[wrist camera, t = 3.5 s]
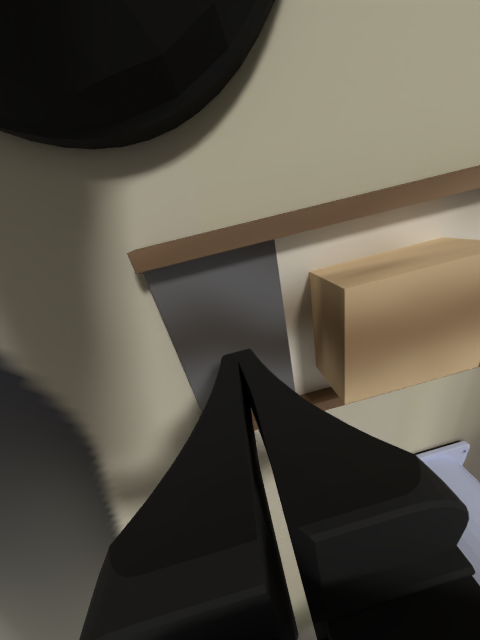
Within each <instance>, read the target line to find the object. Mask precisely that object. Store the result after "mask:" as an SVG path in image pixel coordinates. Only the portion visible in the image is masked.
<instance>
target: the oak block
mask: <svg viewBox="0 0 480 640" xmlns="http://www.w3.org/2000/svg"><path fill="white" fill-rule="evenodd" d="M309 275H310V288H311V302H312V315H313V329H314V342H315V356H316V367H317V368H318V370H319V371H320V372H321V374H322V375H323V376H324V378H325V379H326V380H327V382H328V383H329V384H330V386H331V387H332V388H333V390H334V391H335V392H336V394H337V395H338V396H339V398H340V399H341V400H342V402H343V403H344V404H348V403H352V402H356V401H359V400H363V399H366V398H370V397H373V396H377V395H380V394H384V393H387V392H391V391H395V390H398V389H402V388H405V387H409V386H412V385H416V384H419V383H423V382H426V381H430V380H433V379H437V378H441V377H444V376H448V375H451V374H455V373H458V372H462V371H465V370H469V369H472V368H476V367H478V366H479V363H480V240H473V239H459V238H445V237H442V238H438V239H434V240H430V241H426V242H422V243H418V244H414V245H411V246H407V247H403V248H399V249H395V250H391V251H387V252H383V253H379V254H375V255H372V256H368V257H364V258H360V259H356V260H352V261H348V262H344V263H340V264H337V265H333V266H329V267H325V268H321V269H317V270H313V271H309Z"/></svg>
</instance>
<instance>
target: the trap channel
mask: <svg viewBox="0 0 480 640" xmlns="http://www.w3.org/2000/svg"><path fill="white" fill-rule="evenodd" d="M442 237H445V238H459V239H473V240H480V165H479V166H475V167H471V168H467V169H463V170H459V171H455V172H451V173H446V174H442V175H438V176H434V177H430V178H426V179H422V180H418V181H414V182H410V183H406V184H402V185H398V186H393V187H389V188H385V189H381V190H377V191H373V192H369V193H365V194H361V195H357V196H353V197H349V198H345V199H340V200H336V201H332V202H328V203H324V204H320V205H316V206H312V207H308V208H304V209H300V210H296V211H292V212H287V213H283V214H279V215H275V216H271V217H267V218H263V219H259V220H255V221H251V222H247V223H243V224H238V225H234V226H230V227H226V228H222V229H218V230H214V231H210V232H206V233H202V234H198V235H194V236H190V237H185V238H181V239H177V240H173V241H169V242H165V243H161V244H157V245H153V246H149V247H145V248H141V249H137V250H134V251H132V252H129V253H127V255H128V257H129V259H130V261H131V264H132V266H133V268H134V271H135V273H140V272H143V273H144V275H145V278H146V280H147V282H148V285H149V287H150V290H151V292H152V294H153V297H154V299H155V302H156V304H157V306H158V309H159V311H160V313H161V316H162V318H163V321H164V323H165V325H166V328H167V330H168V332H169V335H170V337H171V340H172V342H173V344H174V347H175V349H176V351H177V354H178V356H179V359H180V361H181V363H182V366H183V368H184V370H185V373H186V375H187V378H188V380H189V382H190V385H191V387H192V389H193V392H194V394H195V397H196V399H197V401H198V404H199V406H200V408H201V411H202V412H203V410H204V408H205V406H206V403H207V401H208V399H209V396H210V394H211V392H212V389H213V386H214V383H215V380H216V377H217V374H218V371H219V367H220V363H221V358H222V356H223V355H227V354H230V353H234V352H238V351H241V350H245V349H249V348H250V349H251V350H253V352H254V353H255V355H256V356H257V357H258V358H259V360H260V361H261V362H262V363H263V364H264V365H265V366H266V367H267V368H268V369H269V370H270V371H271V372H272V373H273V374H274V375H275V376H276V377H278V378H279V379H280V380H281V381H282V382H283V383H285V384H286V385H287V386H288V387H290V388H291V389H292V390H293V391H295V392H296V393H298V394H299V395H300V396H302V397H303V398H305V399H306V400H308V401H309V402H311V403H312V404H314V405H315V406H317V407H318V408H320V409H322V410H323V411H325V410H328V409H332V408H335V407H339V406H342V405H346V404H344V403H343V402H342V400H341V399H340V398H339V396H338V395H337V394H336V392H335V391H334V390H333V388H332V387H331V386H330V384H329V383H328V382H327V380H326V379H325V378H324V376H323V375H322V374H321V372H320V371H319V370H318V368H317V367H316V356H315V342H314V329H313V315H312V302H311V288H310V275H309V271H313V270H317V269H321V268H325V267H329V266H333V265H337V264H340V263H344V262H348V261H352V260H356V259H360V258H364V257H368V256H372V255H375V254H379V253H383V252H387V251H391V250H395V249H399V248H403V247H407V246H411V245H414V244H418V243H422V242H426V241H430V240H434V239H438V238H442ZM478 367H480V363H479V366H478ZM476 368H477V367H476ZM472 369H473V368H472ZM469 370H470V369H469ZM465 371H466V370H465ZM462 372H463V371H462ZM458 373H459V372H458ZM455 374H456V373H455ZM451 375H452V374H451ZM444 377H445V376H444ZM437 379H438V378H437ZM433 380H434V379H433ZM430 381H431V380H430ZM426 382H427V381H426ZM423 383H424V382H423ZM419 384H420V383H419ZM416 385H417V384H416ZM412 386H413V385H412ZM409 387H410V386H409ZM405 388H406V387H405ZM398 390H399V389H398ZM391 392H392V391H391ZM387 393H388V392H387ZM384 394H385V393H384ZM380 395H381V394H380ZM377 396H378V395H377ZM373 397H374V396H373ZM370 398H371V397H370ZM366 399H367V398H366ZM359 401H360V400H359ZM352 403H353V402H352ZM348 404H349V403H348ZM251 412H252V409H251ZM252 419H253V426H254V430H257V429H258V426H257V423H256V420H255V417H254V414H253V412H252Z"/></svg>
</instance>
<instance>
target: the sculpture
mask: <svg viewBox="0 0 480 640" xmlns="http://www.w3.org/2000/svg"><path fill="white" fill-rule="evenodd" d="M274 1H275V0H0V131H3V132H6V133H9V134H12V135H15V136H18V137H21V138H24V139H27V140H30V141H34V142H39V143H44V144H49V145H54V146H59V147H64V148H82V149H103V148H114V147H124V146H128V145H131V144H135V143H139V142H143V141H146V140H150V139H152V138H154V137H157V136H159V135H161V134H163V133H166V132H168V131H170V130H172V129H175V128H177V127H178V126H179V125H181V124H182V123H184V122H185V121H187V120H188V119H190V118H191V117H193V116H194V115H195V114H197V113H198V112H199V111H200V110H201V109H203V108H204V107H205V106H206V105H207V104H208V103H209V102H210V101H211V100H212V99H213V98H214V97H215V96H217V95H218V94H219V93H220V92H221V90H222V89H223V88H224V87H225V85H226V84H227V83H228V81H229V80H230V79H231V78H232V76H233V75H234V74H235V73H236V71H237V70H238V69H239V68H240V66H241V64H242V63H243V61H244V59H245V58H246V56H247V54H248V53H249V51H250V49H251V48H252V46H253V44H254V43H255V41H256V39H257V38H258V36H259V34H260V32H261V30H262V27H263V25H264V23H265V21H266V19H267V16H268V14H269V12H270V10H271V8H272V6H273V3H274Z"/></svg>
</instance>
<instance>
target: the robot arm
mask: <svg viewBox="0 0 480 640" xmlns="http://www.w3.org/2000/svg"><path fill="white" fill-rule="evenodd" d="M251 409H252V412H253V414H254V417H255V420H256V423H257V426H258V429H259V431H260V434H261V437H262V440H263V443H264V446H265V448H266V451H267V454H268V457H269V461H270V464H271V467H272V471H273V475H274V478H275V482H276V486H277V490H278V493H279V497H280V501H281V505H282V508H283V512H284V516H285V520H286V523H287V527H288V531H289V535H290V539H291V542H292V546H293V550H294V554H295V557H296V561H297V565H298V569H299V572H300V576H301V580H302V584H303V587H304V591H305V595H306V599H307V603H308V606H309V610H310V614H311V618H312V621H313V625H314V629H315V633H316V636H317V640H480V482H479V481H478V480H477V479H476V478H474V477H473V476H472V475H471V474H470V473H469V472H468V471H467V470H466V469H465V468H464V467H463V466H462V465H463V463H464V460H465V458H466V456H467V453H468V451H469V448H470V445H469V444H468V443H467V442H466V441H461V442H458V443H454V444H451V445H447V446H444V447H441V448H437V449H434V450H430V451H427V452H424V453H420V454H417V455H414V454H412V453H410V452H407V451H405V450H403V449H400V448H398V447H396V446H393V445H391V444H389V443H386V442H384V441H382V440H379V439H377V438H375V437H372V436H370V435H368V434H366V433H364V432H362V431H360V430H358V429H356V428H354V427H352V426H350V425H348V424H346V423H345V422H343V421H341V420H339V419H338V418H336V417H334V416H332V415H330V414H329V413H327V412H325V411H323V410H322V409H320V408H318V407H317V406H315V405H314V404H312V403H311V402H309V401H308V400H306V399H305V398H303V397H302V396H300V395H299V394H298V393H296V392H295V391H293V390H292V389H291V388H290V387H288V386H287V385H286V384H285V383H283V382H282V381H281V380H280V379H279V378H278V377H276V376H275V375H274V374H273V373H272V372H271V371H270V370H269V369H268V368H267V367H266V366H265V365H264V364H263V363H262V362H261V361H260V360H259V358H258V357H257V356H256V355H255V353H254V352H253V350H251V349H250V348H249V349H245V350H241V351H238V352H234V353H230V354H227V355H223V356H222V358H221V363H220V367H219V371H218V374H217V377H216V380H215V383H214V386H213V389H212V392H211V394H210V396H209V399H208V401H207V403H206V406H205V408H204V410H203V412H202V414H201V416H200V418H199V420H198V422H197V424H196V426H195V428H194V430H193V432H192V433H191V435H190V437H189V439H188V440H187V442H186V444H185V445H184V447H183V449H182V450H181V452H180V453H179V455H178V457H177V458H176V460H175V461H174V463H173V464H172V466H171V467H170V468H169V470H168V471H167V473H166V474H165V476H164V477H163V478H162V480H161V481H160V483H159V484H158V486H157V487H156V488H155V490H154V491H153V493H152V494H151V495H150V497H149V498H148V499H147V501H146V502H145V503H144V504H143V506H142V507H141V508H140V509H139V511H138V512H137V513H136V514H135V516H134V517H133V518H132V519H131V520H130V522H129V523H128V524H127V525H126V527H125V528H124V529H123V530H122V532H121V533H120V534H119V535H118V537H117V538H116V539H115V540H114V541H113V543H112V544H111V545H110V546H109V549H108V552H107V555H106V558H105V560H104V563H103V566H102V568H101V571H100V573H99V576H98V580H97V583H96V586H95V589H94V593H93V596H92V599H91V602H90V606H89V609H88V612H87V616H86V619H85V623H84V626H83V629H82V633H81V636H80V639H79V640H297V639H298V630H297V626H296V622H295V618H294V613H293V609H292V605H291V601H290V596H289V592H288V588H287V584H286V579H285V575H284V571H283V566H282V562H281V558H280V554H279V549H278V545H277V541H276V536H275V532H274V528H273V523H272V519H271V515H270V510H269V506H268V502H267V497H266V493H265V488H264V484H263V480H262V475H261V471H260V466H259V460H258V454H257V447H256V440H255V433H254V426H253V419H252V412H251Z"/></svg>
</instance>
